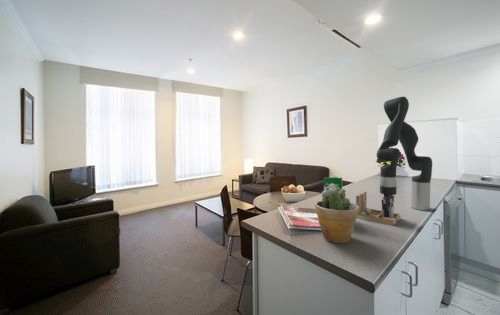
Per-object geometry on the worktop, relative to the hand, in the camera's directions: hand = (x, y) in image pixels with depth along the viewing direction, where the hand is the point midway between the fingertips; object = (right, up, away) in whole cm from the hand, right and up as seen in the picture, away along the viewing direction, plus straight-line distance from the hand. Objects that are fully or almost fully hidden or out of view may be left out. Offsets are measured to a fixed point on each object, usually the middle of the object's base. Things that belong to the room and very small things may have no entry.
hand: (387, 215), depth 116 cm
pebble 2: (-5, 0, +11) cm, 12 cm away
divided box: (-3, -3, +4) cm, 6 cm away
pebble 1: (-11, -1, +6) cm, 12 cm away
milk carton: (-28, -4, +4) cm, 28 cm away
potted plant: (-35, -5, -18) cm, 40 cm away
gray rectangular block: (0, 0, 0) cm, 0 cm away
